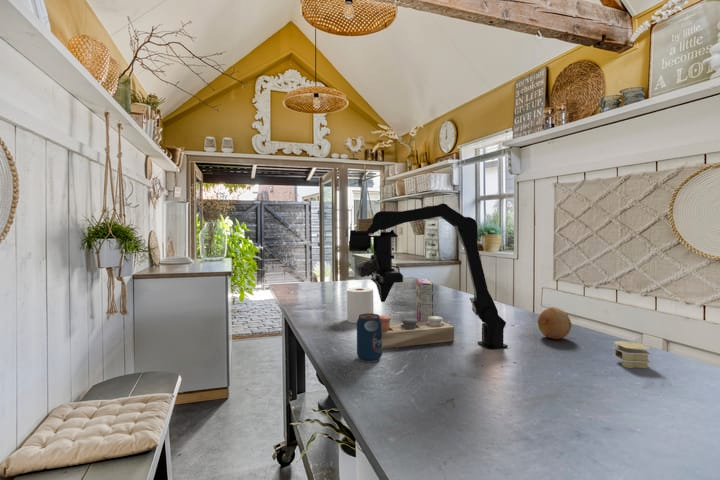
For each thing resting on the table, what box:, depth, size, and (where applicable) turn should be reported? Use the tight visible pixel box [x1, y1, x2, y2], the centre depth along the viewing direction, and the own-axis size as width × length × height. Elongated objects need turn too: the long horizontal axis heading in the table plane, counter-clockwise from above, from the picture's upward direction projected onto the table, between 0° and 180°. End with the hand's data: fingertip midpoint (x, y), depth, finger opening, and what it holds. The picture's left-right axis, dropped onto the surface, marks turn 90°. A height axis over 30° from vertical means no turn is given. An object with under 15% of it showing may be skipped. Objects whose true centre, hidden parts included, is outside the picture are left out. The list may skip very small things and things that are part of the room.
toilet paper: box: [346, 287, 374, 324], centre depth 151 cm, size 10×10×12 cm
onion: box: [537, 306, 572, 340], centre depth 125 cm, size 10×10×10 cm
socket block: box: [382, 320, 455, 350], centre depth 124 cm, size 10×26×4 cm, turn 107°
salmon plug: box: [379, 315, 392, 331], centre depth 122 cm, size 5×5×6 cm
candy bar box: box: [415, 278, 434, 321], centre depth 142 cm, size 11×5×16 cm, turn 179°
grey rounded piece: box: [401, 317, 417, 329], centre depth 124 cm, size 5×5×6 cm
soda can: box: [356, 313, 383, 363], centre depth 108 cm, size 7×7×12 cm
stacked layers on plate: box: [612, 340, 651, 369], centre depth 101 cm, size 10×9×6 cm
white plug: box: [428, 315, 443, 326], centre depth 127 cm, size 5×5×6 cm
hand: (382, 301), depth 121 cm, fingers closed
